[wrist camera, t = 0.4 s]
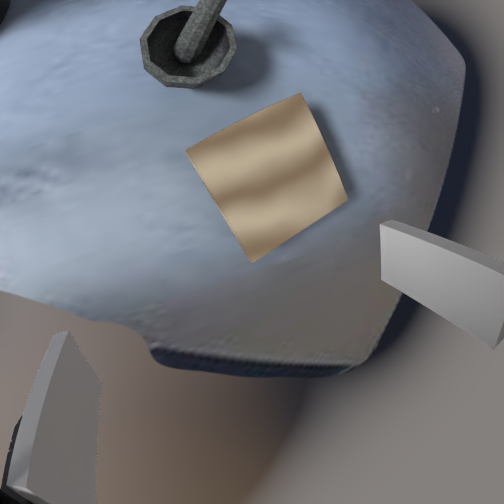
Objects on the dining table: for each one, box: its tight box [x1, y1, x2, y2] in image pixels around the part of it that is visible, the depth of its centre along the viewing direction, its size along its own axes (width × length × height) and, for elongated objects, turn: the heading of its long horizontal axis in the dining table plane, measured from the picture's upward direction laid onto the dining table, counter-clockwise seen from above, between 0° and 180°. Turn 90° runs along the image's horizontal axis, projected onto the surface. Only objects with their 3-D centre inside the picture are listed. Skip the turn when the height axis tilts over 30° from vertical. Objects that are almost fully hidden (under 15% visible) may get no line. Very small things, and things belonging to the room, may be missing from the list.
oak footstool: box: [185, 93, 348, 263], centre depth 32 cm, size 14×14×6 cm
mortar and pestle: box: [140, 0, 237, 89], centre depth 22 cm, size 11×9×12 cm
